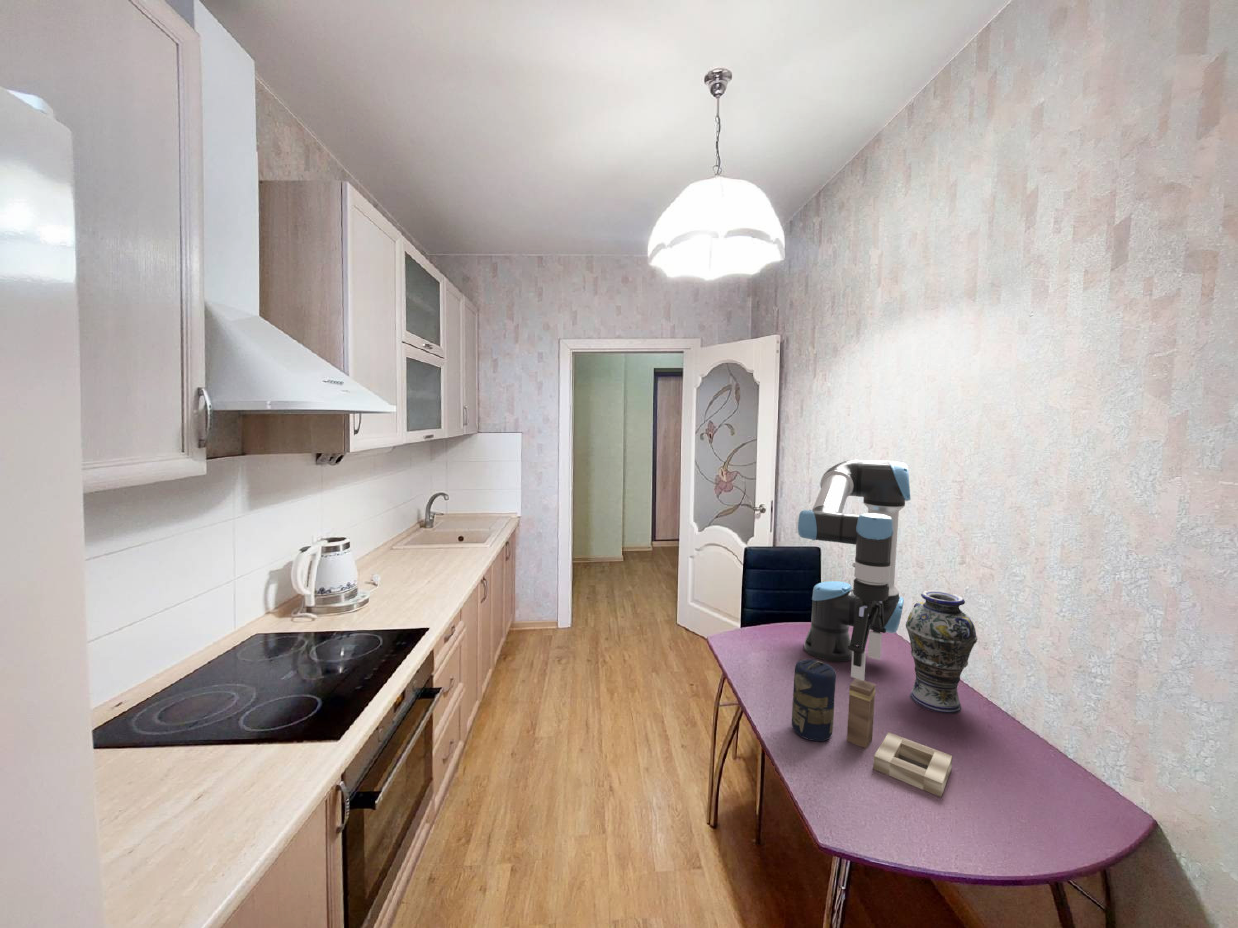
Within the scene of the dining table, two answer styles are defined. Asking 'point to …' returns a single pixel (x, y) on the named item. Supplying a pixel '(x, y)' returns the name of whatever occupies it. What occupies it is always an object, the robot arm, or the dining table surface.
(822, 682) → the blue patterned canister
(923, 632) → the vase
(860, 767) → the dining table surface
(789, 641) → the dining table surface
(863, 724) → the block
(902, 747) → the socket block
